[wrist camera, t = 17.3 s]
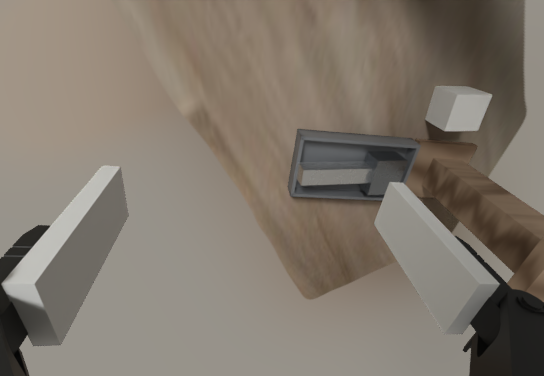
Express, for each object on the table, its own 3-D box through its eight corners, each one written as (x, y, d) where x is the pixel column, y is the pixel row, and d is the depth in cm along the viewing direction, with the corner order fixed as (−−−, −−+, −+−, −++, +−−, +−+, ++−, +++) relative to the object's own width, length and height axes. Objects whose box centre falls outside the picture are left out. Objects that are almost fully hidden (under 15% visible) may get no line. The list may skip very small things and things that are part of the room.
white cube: (467, 85, 51) (492, 94, 46) (455, 119, 54) (477, 130, 49) (435, 85, 50) (457, 94, 45) (424, 119, 53) (444, 131, 48)
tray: (297, 129, 52) (301, 136, 49) (411, 138, 55) (421, 145, 52) (287, 186, 58) (290, 196, 55) (390, 192, 61) (398, 201, 58)
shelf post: (411, 138, 55) (560, 249, 30) (472, 143, 57) (661, 251, 32) (390, 192, 61) (499, 322, 36) (446, 194, 63) (587, 320, 38)
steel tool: (299, 151, 50) (307, 162, 47) (395, 151, 55) (408, 160, 52) (294, 186, 54) (301, 198, 51) (384, 183, 59) (395, 193, 55)
